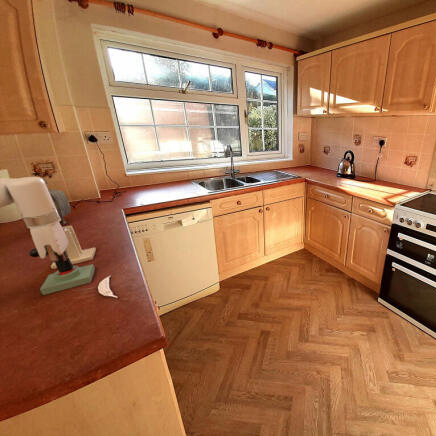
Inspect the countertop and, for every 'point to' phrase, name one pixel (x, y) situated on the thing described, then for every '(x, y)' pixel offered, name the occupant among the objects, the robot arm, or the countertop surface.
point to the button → (66, 272)
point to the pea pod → (105, 288)
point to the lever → (34, 251)
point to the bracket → (76, 249)
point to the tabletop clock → (60, 203)
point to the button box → (68, 279)
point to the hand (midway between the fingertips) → (66, 270)
